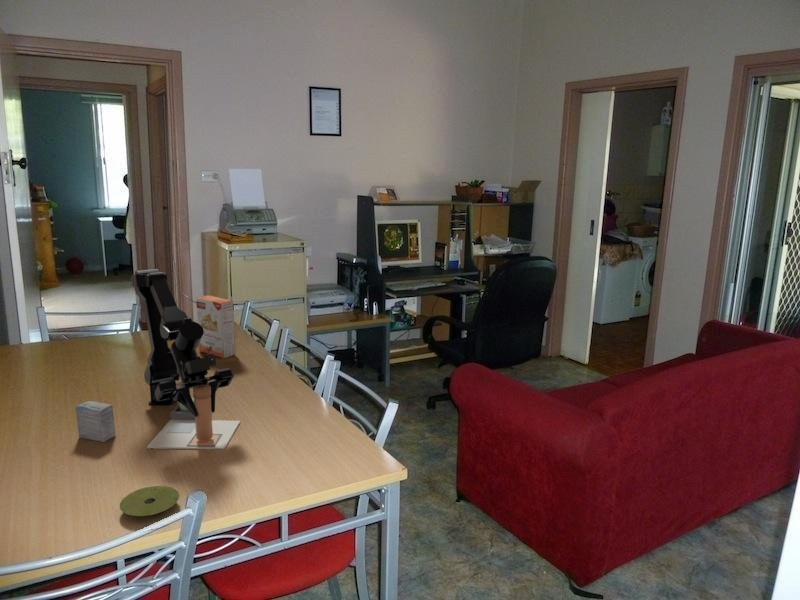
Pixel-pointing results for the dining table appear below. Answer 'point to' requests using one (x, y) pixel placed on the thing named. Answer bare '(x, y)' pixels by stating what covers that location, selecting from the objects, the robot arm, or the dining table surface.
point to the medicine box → (95, 421)
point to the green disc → (149, 500)
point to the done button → (183, 408)
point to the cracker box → (216, 326)
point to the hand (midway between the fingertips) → (205, 414)
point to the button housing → (180, 414)
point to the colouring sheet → (193, 435)
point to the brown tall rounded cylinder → (203, 412)
